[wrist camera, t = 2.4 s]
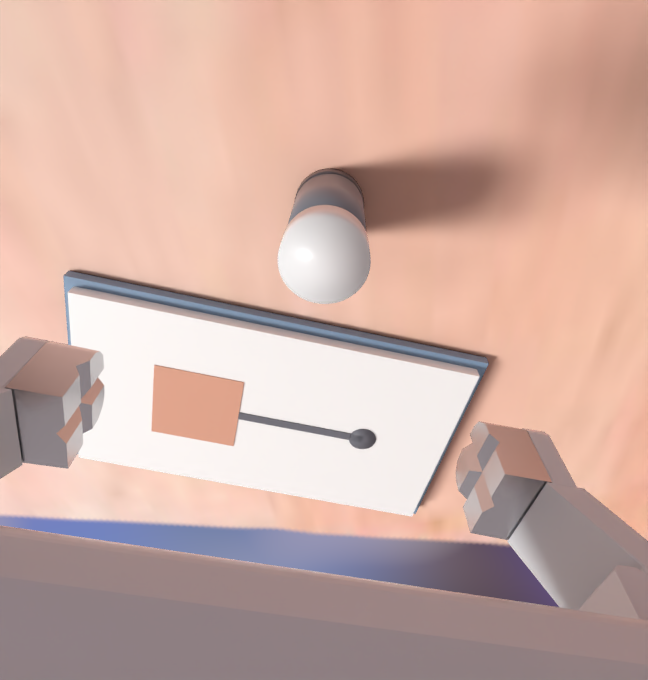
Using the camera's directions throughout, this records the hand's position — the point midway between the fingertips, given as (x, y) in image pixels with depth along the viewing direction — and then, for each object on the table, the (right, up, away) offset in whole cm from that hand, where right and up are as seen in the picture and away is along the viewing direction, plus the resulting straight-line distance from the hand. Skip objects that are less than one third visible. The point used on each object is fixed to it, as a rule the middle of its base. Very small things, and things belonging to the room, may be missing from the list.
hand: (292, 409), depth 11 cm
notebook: (-3, -2, +19) cm, 20 cm away
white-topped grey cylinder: (+1, +8, +13) cm, 15 cm away
